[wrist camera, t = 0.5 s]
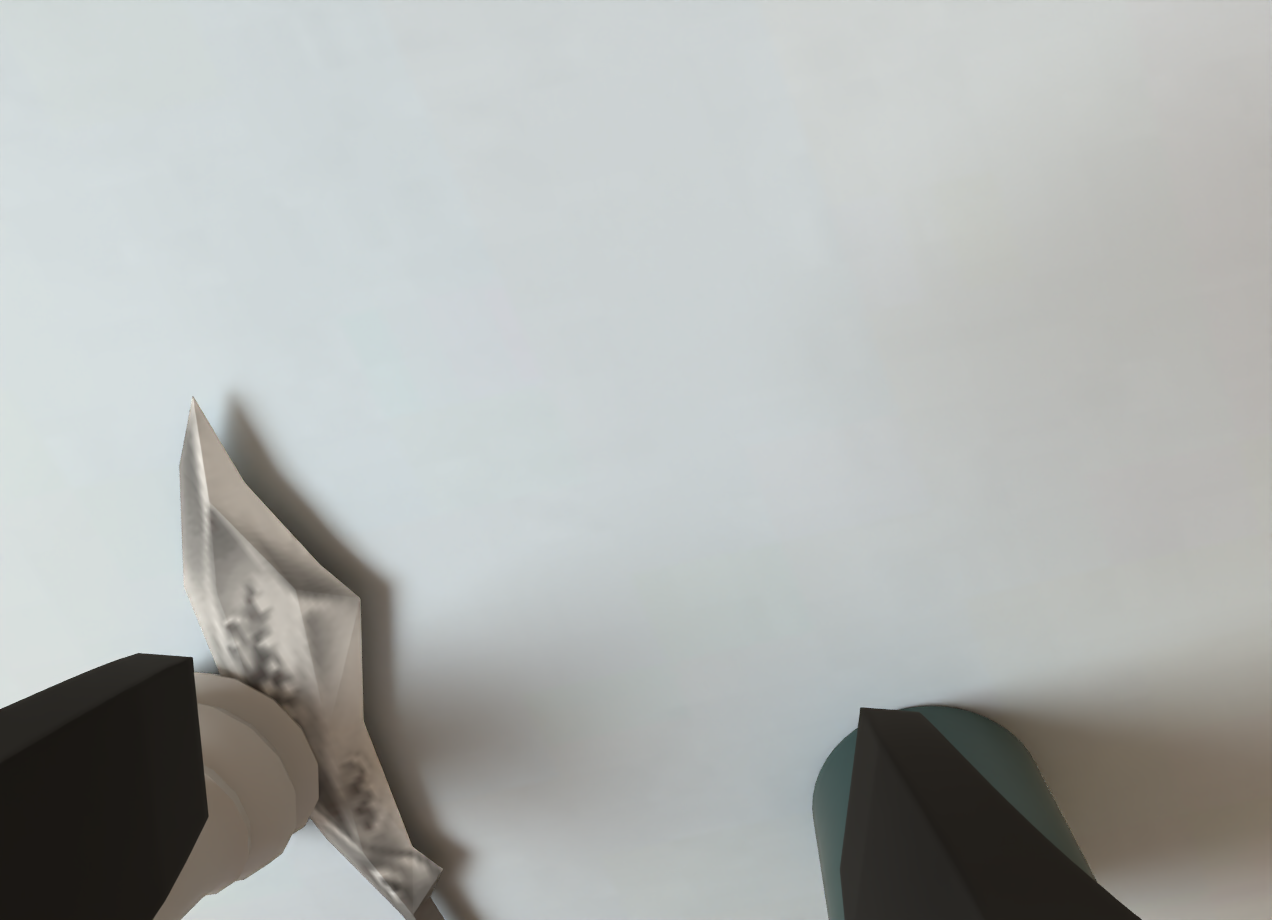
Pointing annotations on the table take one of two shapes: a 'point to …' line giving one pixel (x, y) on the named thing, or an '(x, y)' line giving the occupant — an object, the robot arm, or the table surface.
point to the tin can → (982, 748)
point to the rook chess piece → (244, 789)
